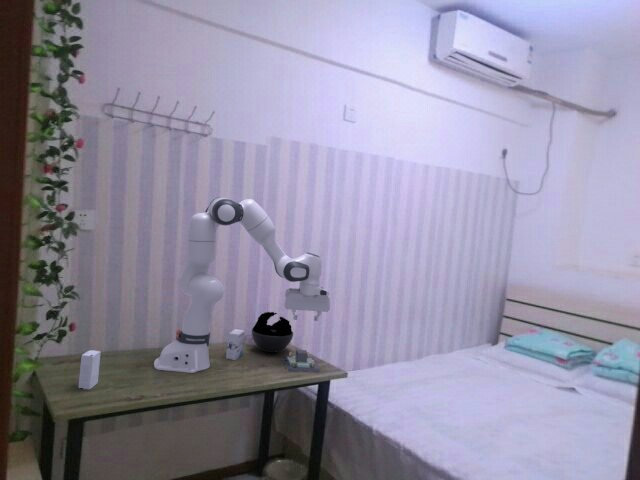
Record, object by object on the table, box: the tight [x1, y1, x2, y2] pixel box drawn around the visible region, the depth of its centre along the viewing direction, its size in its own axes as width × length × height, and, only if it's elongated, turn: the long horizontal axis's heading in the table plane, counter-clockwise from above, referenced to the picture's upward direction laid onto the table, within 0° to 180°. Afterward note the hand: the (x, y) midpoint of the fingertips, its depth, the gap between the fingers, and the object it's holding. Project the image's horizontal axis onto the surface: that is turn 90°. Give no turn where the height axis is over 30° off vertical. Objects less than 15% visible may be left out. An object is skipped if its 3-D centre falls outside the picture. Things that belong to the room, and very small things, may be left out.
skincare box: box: [78, 349, 101, 390], centre depth 172 cm, size 6×4×12 cm
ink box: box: [225, 328, 246, 361], centre depth 221 cm, size 9×5×12 cm, turn 168°
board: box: [287, 349, 315, 368], centre depth 219 cm, size 11×13×5 cm
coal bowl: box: [251, 311, 294, 353], centre depth 235 cm, size 20×20×19 cm
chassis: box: [282, 351, 321, 373], centre depth 219 cm, size 14×15×5 cm
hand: (305, 320), depth 218 cm, fingers open, 8 cm apart
